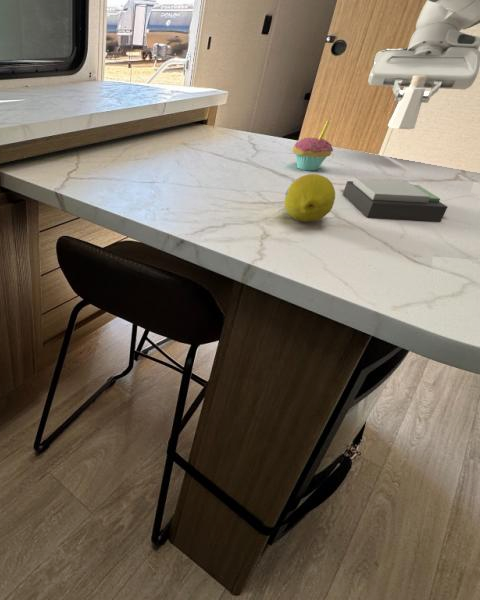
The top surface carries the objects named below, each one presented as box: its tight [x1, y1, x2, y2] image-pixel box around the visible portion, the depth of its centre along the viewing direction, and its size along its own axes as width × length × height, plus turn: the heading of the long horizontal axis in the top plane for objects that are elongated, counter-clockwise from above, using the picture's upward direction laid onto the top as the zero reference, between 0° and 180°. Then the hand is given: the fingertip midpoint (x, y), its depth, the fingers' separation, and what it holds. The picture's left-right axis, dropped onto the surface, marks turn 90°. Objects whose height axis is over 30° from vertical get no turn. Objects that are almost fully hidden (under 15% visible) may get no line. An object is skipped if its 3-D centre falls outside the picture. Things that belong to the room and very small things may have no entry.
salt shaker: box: [387, 75, 428, 130], centre depth 96 cm, size 5×5×11 cm
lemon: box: [284, 173, 336, 223], centre depth 72 cm, size 11×8×8 cm
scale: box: [342, 177, 448, 223], centre depth 79 cm, size 12×13×4 cm
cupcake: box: [291, 116, 334, 172], centre depth 99 cm, size 9×8×12 cm
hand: (411, 100), depth 96 cm, fingers closed on salt shaker, 4 cm apart
